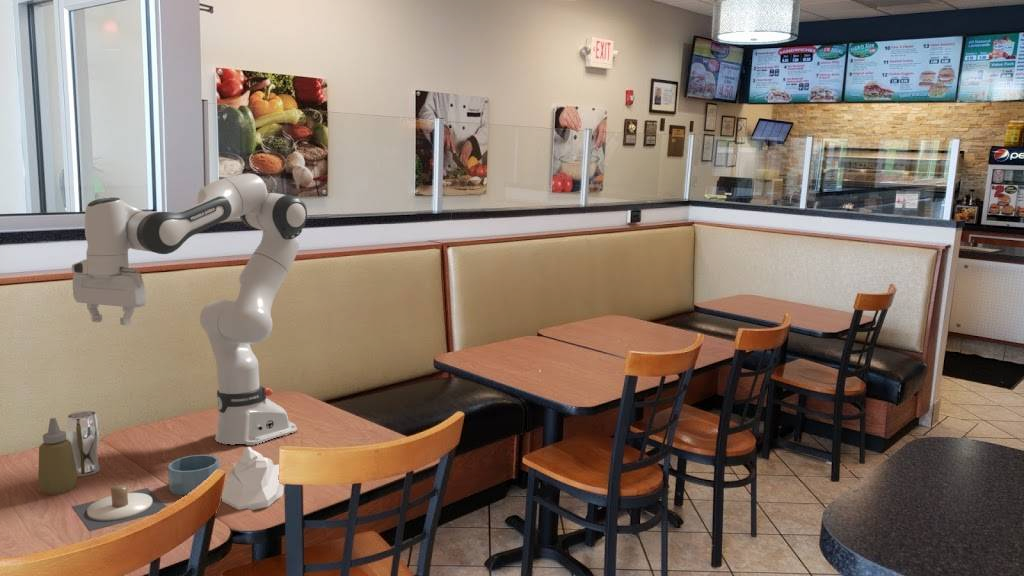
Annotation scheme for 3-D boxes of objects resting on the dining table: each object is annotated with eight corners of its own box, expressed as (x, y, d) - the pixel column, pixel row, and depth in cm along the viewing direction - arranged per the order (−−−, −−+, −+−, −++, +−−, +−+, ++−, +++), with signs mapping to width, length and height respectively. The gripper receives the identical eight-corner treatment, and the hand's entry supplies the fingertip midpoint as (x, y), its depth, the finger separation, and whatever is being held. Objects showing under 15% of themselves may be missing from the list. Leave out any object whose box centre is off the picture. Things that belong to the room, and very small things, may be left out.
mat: (147, 491, 185) (147, 487, 185) (169, 512, 173) (169, 509, 173) (72, 509, 175) (71, 506, 175) (90, 534, 163) (89, 530, 163)
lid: (142, 491, 183) (141, 471, 182) (160, 509, 173) (158, 488, 172) (81, 506, 174) (79, 486, 174) (95, 526, 165) (94, 504, 164)
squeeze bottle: (50, 486, 188) (43, 414, 185) (85, 484, 189) (78, 413, 186) (32, 499, 180) (25, 424, 178) (69, 498, 181) (62, 423, 178)
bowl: (210, 476, 194) (208, 451, 193) (226, 489, 186) (225, 463, 185) (163, 487, 187) (162, 462, 186) (179, 502, 179) (177, 475, 178)
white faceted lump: (293, 510, 178) (286, 459, 172) (223, 526, 173) (214, 473, 167) (286, 478, 189) (280, 428, 183) (221, 491, 184) (212, 441, 178)
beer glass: (88, 478, 193) (83, 419, 191) (64, 475, 194) (59, 417, 192) (108, 467, 200) (103, 411, 198) (84, 465, 201) (79, 409, 199)
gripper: (151, 267, 185) (154, 324, 187) (89, 263, 193) (92, 318, 195) (129, 269, 179) (132, 329, 181) (66, 265, 187) (69, 322, 189)
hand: (111, 323), depth 188 cm, fingers open, 8 cm apart
